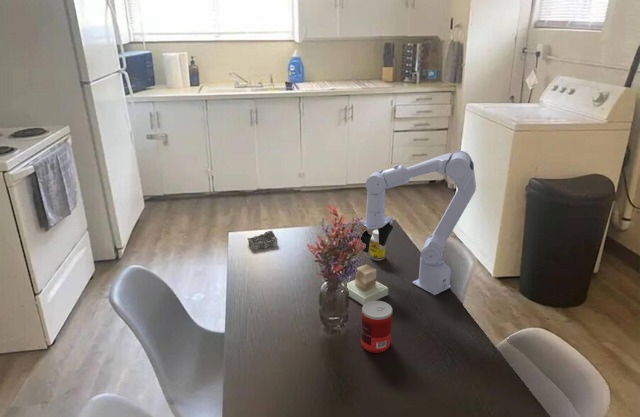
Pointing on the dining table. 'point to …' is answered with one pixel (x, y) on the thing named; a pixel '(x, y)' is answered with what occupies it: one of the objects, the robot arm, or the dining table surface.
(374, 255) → the supplement bottle
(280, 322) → the dining table surface
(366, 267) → the beech block
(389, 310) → the canned food
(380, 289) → the plinth
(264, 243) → the egg carton
